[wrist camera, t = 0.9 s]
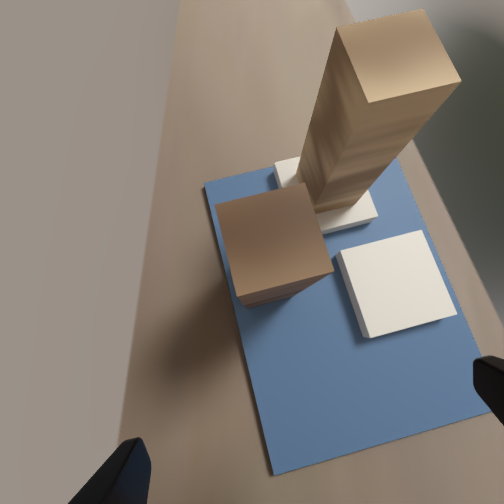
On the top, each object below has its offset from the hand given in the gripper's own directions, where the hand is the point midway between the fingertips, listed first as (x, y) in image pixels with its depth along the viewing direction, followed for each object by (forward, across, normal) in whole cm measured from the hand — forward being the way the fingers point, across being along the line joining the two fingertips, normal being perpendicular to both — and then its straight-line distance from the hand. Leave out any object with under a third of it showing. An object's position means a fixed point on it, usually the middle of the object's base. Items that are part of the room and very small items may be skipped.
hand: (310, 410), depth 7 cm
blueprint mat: (+16, -6, +4) cm, 18 cm away
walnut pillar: (+16, 0, +2) cm, 16 cm away
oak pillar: (+18, -7, -4) cm, 20 cm away
